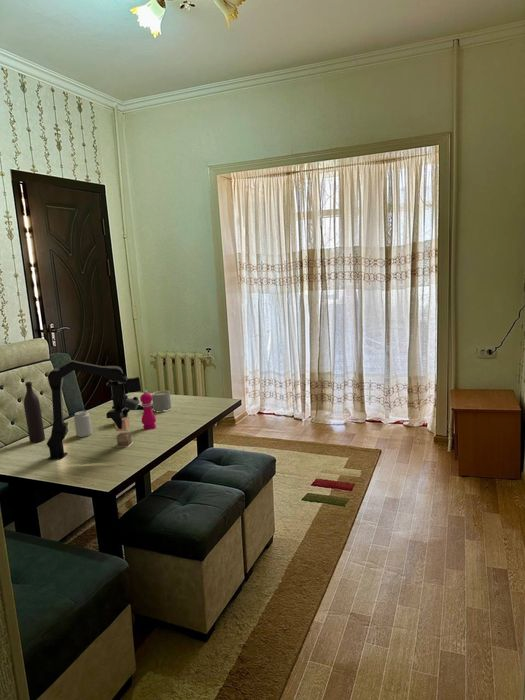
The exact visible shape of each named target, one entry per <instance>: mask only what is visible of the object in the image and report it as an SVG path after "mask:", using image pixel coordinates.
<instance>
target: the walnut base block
mask: <svg viewBox="0 0 525 700" xmlns="http://www.w3.org/2000/svg"><path fill="white" fill-rule="evenodd" d="M132 439H133V438H132V432H130V431H127V432H126V431H120V432H119V433H118V434H117V435H116V442H117V443H116V444H117V446H118V447H117V448H124V447H123V446H129V445H130V444H131V443H132V442H133V440H132ZM132 444H133V443H132ZM132 444H131V445H132ZM131 445H130V446H131ZM130 446H129V447H130Z"/></svg>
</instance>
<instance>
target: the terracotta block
mask: <svg viewBox="0 0 525 700" xmlns="http://www.w3.org/2000/svg"><path fill="white" fill-rule="evenodd" d="M130 425H131V424H130V417H129V416H128V417H122V429H119V428H118V427H117V425H116V424H115V423H114V428H115V432H126V431H127V432H128V430H129V429H130V428H131V426H130Z"/></svg>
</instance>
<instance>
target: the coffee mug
mask: <svg viewBox="0 0 525 700" xmlns="http://www.w3.org/2000/svg"><path fill="white" fill-rule="evenodd" d="M151 395H152V401H151V402H152V405H151V408H153V411H154V410H155V411H163V410H168V409H170V408H171V409H172V403H171V392H170V391H169V390H158V391H154V392H152V394H151Z"/></svg>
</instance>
